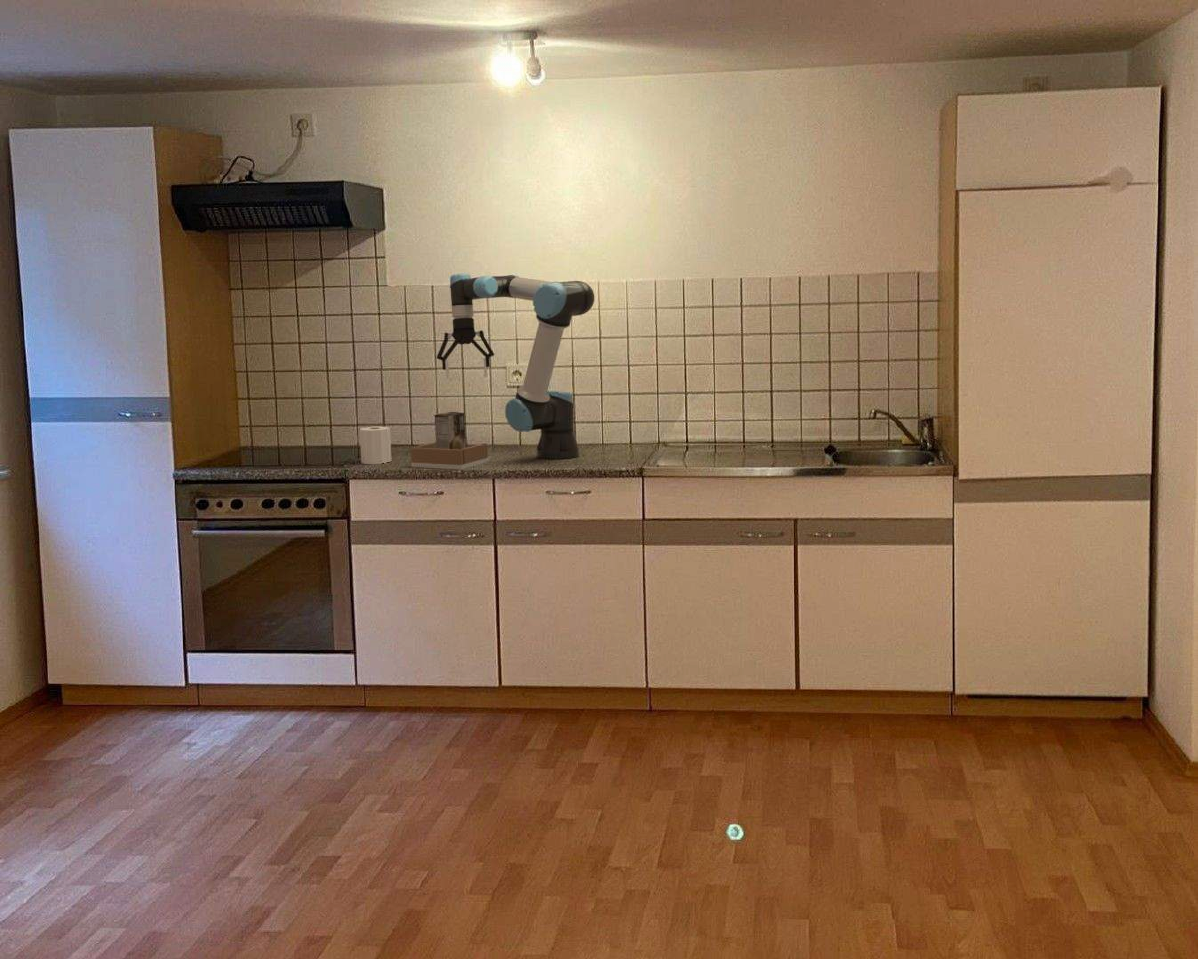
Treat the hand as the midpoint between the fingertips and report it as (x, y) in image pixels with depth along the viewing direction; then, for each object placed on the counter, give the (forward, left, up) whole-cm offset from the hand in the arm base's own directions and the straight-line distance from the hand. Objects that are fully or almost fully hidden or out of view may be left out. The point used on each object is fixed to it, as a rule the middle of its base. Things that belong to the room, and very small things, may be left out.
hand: (466, 378), depth 522 cm
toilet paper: (+22, +26, -28) cm, 44 cm away
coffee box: (-6, +22, -26) cm, 35 cm away
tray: (-6, +22, -28) cm, 36 cm away
